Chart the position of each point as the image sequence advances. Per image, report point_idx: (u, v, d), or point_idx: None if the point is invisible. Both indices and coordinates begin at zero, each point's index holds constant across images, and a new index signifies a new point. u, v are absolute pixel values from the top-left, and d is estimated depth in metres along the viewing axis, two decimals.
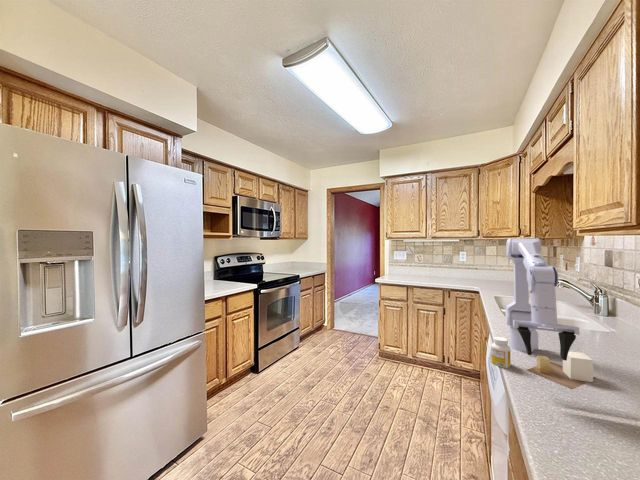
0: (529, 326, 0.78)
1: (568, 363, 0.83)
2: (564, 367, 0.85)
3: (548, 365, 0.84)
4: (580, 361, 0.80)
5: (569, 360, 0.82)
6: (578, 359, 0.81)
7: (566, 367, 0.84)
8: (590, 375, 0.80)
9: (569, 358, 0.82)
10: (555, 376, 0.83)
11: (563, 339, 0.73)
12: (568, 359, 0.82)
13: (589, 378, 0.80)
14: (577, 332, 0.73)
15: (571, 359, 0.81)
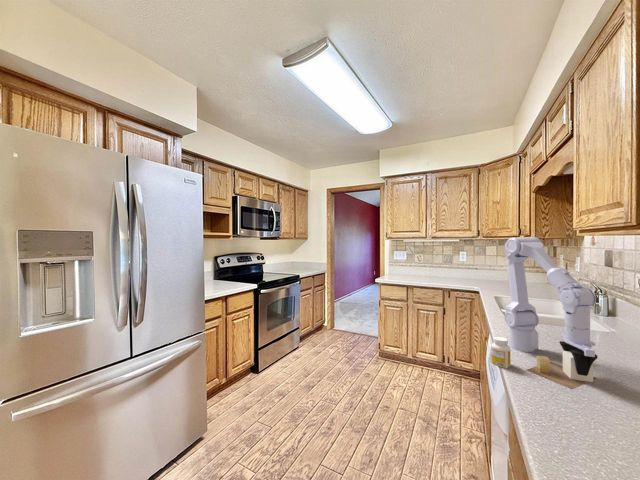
0: None
1: (568, 363, 0.83)
2: (564, 367, 0.85)
3: (548, 365, 0.84)
4: None
5: (569, 360, 0.82)
6: None
7: (566, 367, 0.84)
8: (590, 375, 0.80)
9: (569, 358, 0.82)
10: (555, 376, 0.83)
11: (578, 349, 0.85)
12: (568, 359, 0.82)
13: (589, 378, 0.80)
14: None
15: (571, 359, 0.81)
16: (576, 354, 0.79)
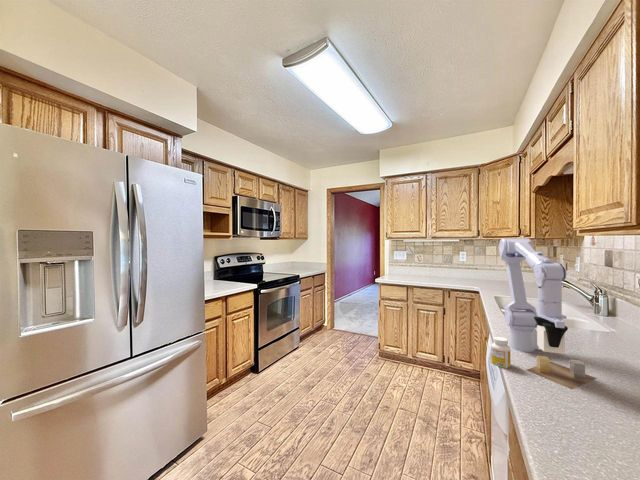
0: None
1: (541, 336, 0.85)
2: (538, 341, 0.87)
3: (548, 365, 0.84)
4: None
5: (542, 333, 0.84)
6: None
7: (540, 340, 0.86)
8: (562, 347, 0.82)
9: (542, 331, 0.84)
10: (555, 376, 0.83)
11: (551, 323, 0.87)
12: (541, 333, 0.85)
13: (561, 350, 0.82)
14: None
15: (544, 332, 0.84)
16: (548, 326, 0.81)
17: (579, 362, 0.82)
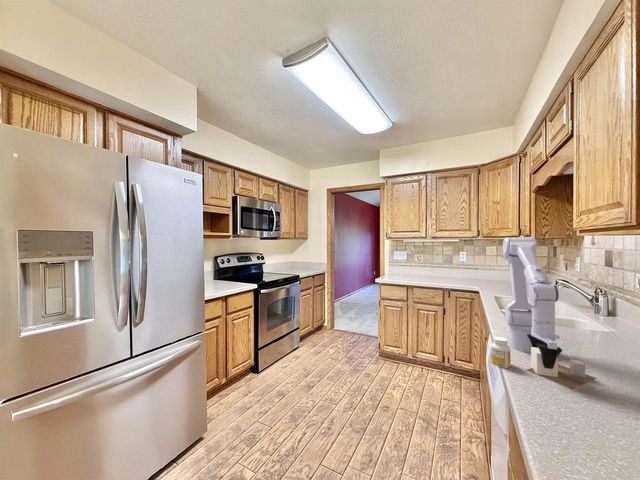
0: None
1: (535, 359, 0.86)
2: (532, 363, 0.88)
3: None
4: None
5: (536, 356, 0.85)
6: None
7: (533, 362, 0.87)
8: (555, 370, 0.83)
9: (536, 354, 0.85)
10: None
11: (543, 341, 0.89)
12: (535, 355, 0.86)
13: (554, 373, 0.83)
14: None
15: (537, 355, 0.84)
16: (542, 348, 0.81)
17: (579, 362, 0.82)
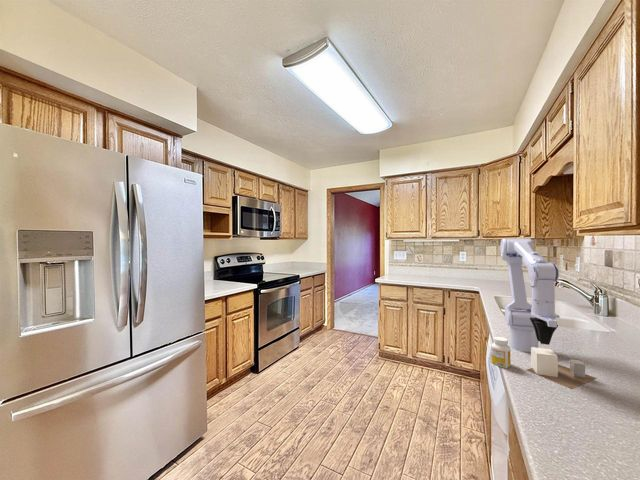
0: None
1: (535, 359, 0.86)
2: (532, 363, 0.88)
3: None
4: (545, 357, 0.84)
5: (536, 356, 0.85)
6: (544, 355, 0.84)
7: (533, 362, 0.87)
8: (555, 370, 0.83)
9: (536, 354, 0.85)
10: None
11: None
12: (535, 355, 0.86)
13: (554, 373, 0.83)
14: None
15: (537, 355, 0.84)
16: (538, 324, 0.83)
17: (579, 362, 0.82)
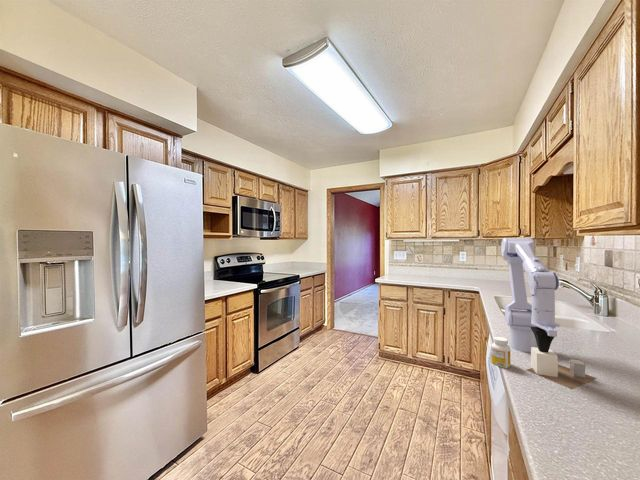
0: None
1: (535, 359, 0.86)
2: (532, 363, 0.88)
3: None
4: (545, 357, 0.84)
5: (536, 356, 0.85)
6: (544, 355, 0.84)
7: (533, 362, 0.87)
8: (555, 370, 0.83)
9: (536, 354, 0.85)
10: None
11: (548, 334, 0.85)
12: (535, 355, 0.86)
13: (554, 373, 0.83)
14: None
15: (537, 355, 0.84)
16: (537, 332, 0.84)
17: (579, 362, 0.82)
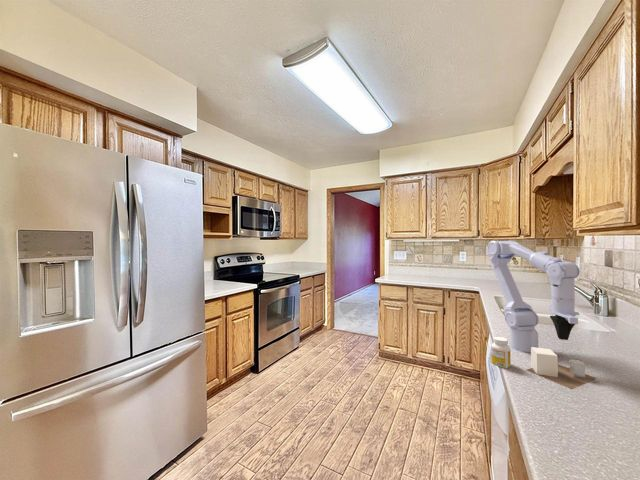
0: None
1: (535, 359, 0.86)
2: (532, 363, 0.88)
3: None
4: (545, 357, 0.84)
5: (536, 356, 0.85)
6: (544, 355, 0.84)
7: (533, 362, 0.87)
8: (555, 370, 0.83)
9: (536, 354, 0.85)
10: None
11: (567, 322, 0.88)
12: (535, 355, 0.86)
13: (554, 373, 0.83)
14: None
15: (537, 355, 0.84)
16: (557, 320, 0.87)
17: (579, 362, 0.82)
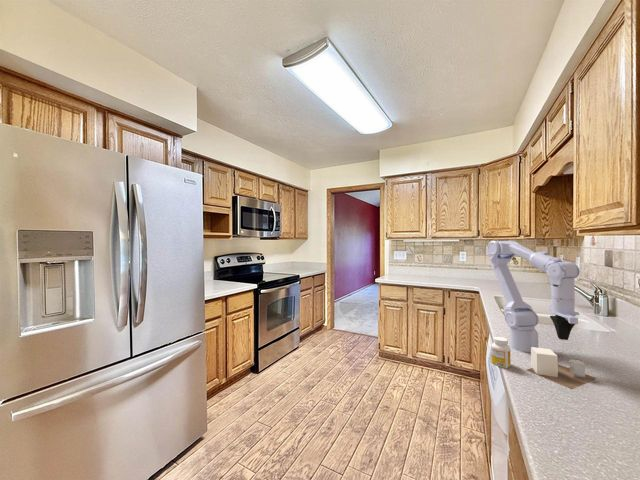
0: None
1: (535, 359, 0.86)
2: (532, 363, 0.88)
3: None
4: (545, 357, 0.84)
5: (536, 356, 0.85)
6: (544, 355, 0.84)
7: (533, 362, 0.87)
8: (555, 370, 0.83)
9: (536, 354, 0.85)
10: None
11: (567, 322, 0.88)
12: (535, 355, 0.86)
13: (554, 373, 0.83)
14: None
15: (537, 355, 0.84)
16: (557, 320, 0.87)
17: (579, 362, 0.82)
